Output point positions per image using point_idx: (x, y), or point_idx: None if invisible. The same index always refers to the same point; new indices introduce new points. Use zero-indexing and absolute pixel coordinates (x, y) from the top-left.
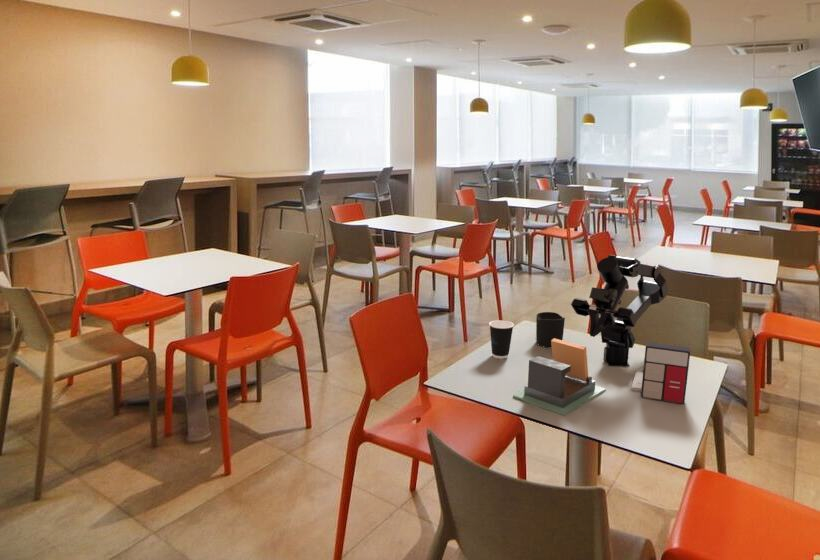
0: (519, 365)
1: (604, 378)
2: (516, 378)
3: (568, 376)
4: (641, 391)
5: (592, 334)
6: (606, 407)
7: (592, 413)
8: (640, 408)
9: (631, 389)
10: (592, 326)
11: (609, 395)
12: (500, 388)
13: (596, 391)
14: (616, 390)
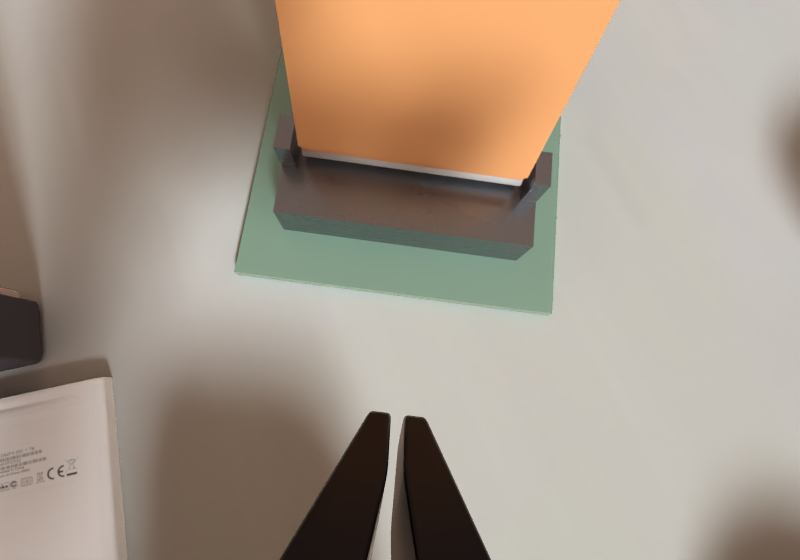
0: (775, 327)
1: (299, 453)
2: (674, 155)
3: (432, 182)
4: (12, 297)
5: (382, 416)
6: (178, 90)
7: (216, 5)
8: (23, 169)
9: (108, 377)
10: (434, 534)
11: (203, 229)
12: (656, 18)
13: (267, 207)
14: (186, 316)
